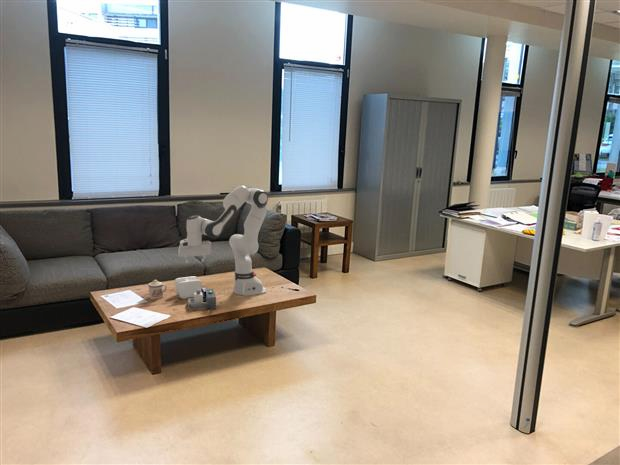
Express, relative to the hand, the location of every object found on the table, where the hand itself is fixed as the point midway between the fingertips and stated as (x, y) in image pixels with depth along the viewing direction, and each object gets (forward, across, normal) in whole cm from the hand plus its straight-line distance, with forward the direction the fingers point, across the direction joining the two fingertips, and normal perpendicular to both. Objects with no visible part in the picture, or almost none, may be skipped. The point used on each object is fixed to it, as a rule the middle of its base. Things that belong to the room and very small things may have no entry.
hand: (195, 262), depth 306 cm
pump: (+25, 0, +7) cm, 26 cm away
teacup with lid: (+26, +23, -15) cm, 38 cm away
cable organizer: (+27, +4, -13) cm, 30 cm away
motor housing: (+26, -2, +7) cm, 27 cm away
